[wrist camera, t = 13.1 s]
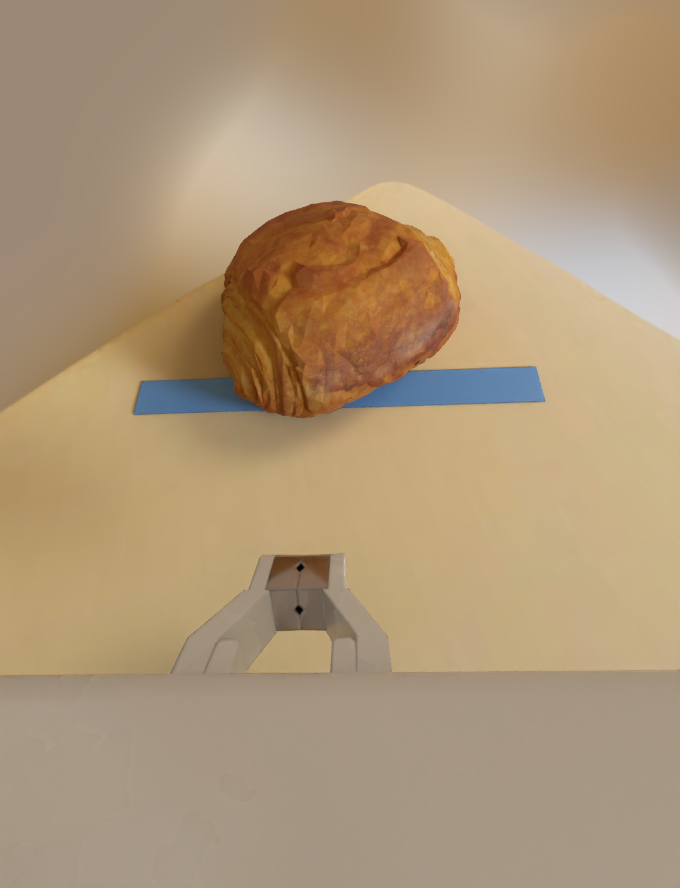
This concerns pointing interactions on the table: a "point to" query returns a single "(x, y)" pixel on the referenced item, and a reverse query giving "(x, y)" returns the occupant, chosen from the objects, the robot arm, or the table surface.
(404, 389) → the tape line
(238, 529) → the table surface
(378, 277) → the croissant
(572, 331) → the table surface
